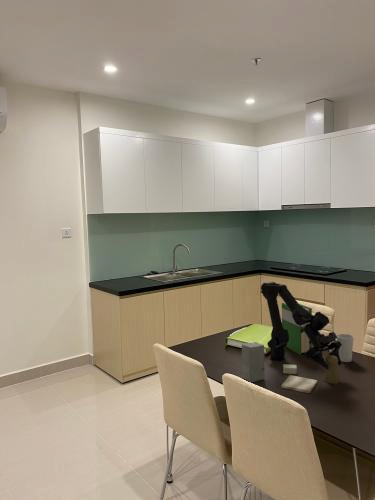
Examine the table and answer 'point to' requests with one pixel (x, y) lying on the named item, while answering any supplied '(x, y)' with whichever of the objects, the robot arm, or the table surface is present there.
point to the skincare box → (253, 362)
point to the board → (299, 384)
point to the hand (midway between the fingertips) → (334, 367)
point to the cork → (332, 370)
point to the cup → (345, 347)
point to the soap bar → (289, 369)
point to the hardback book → (295, 331)
